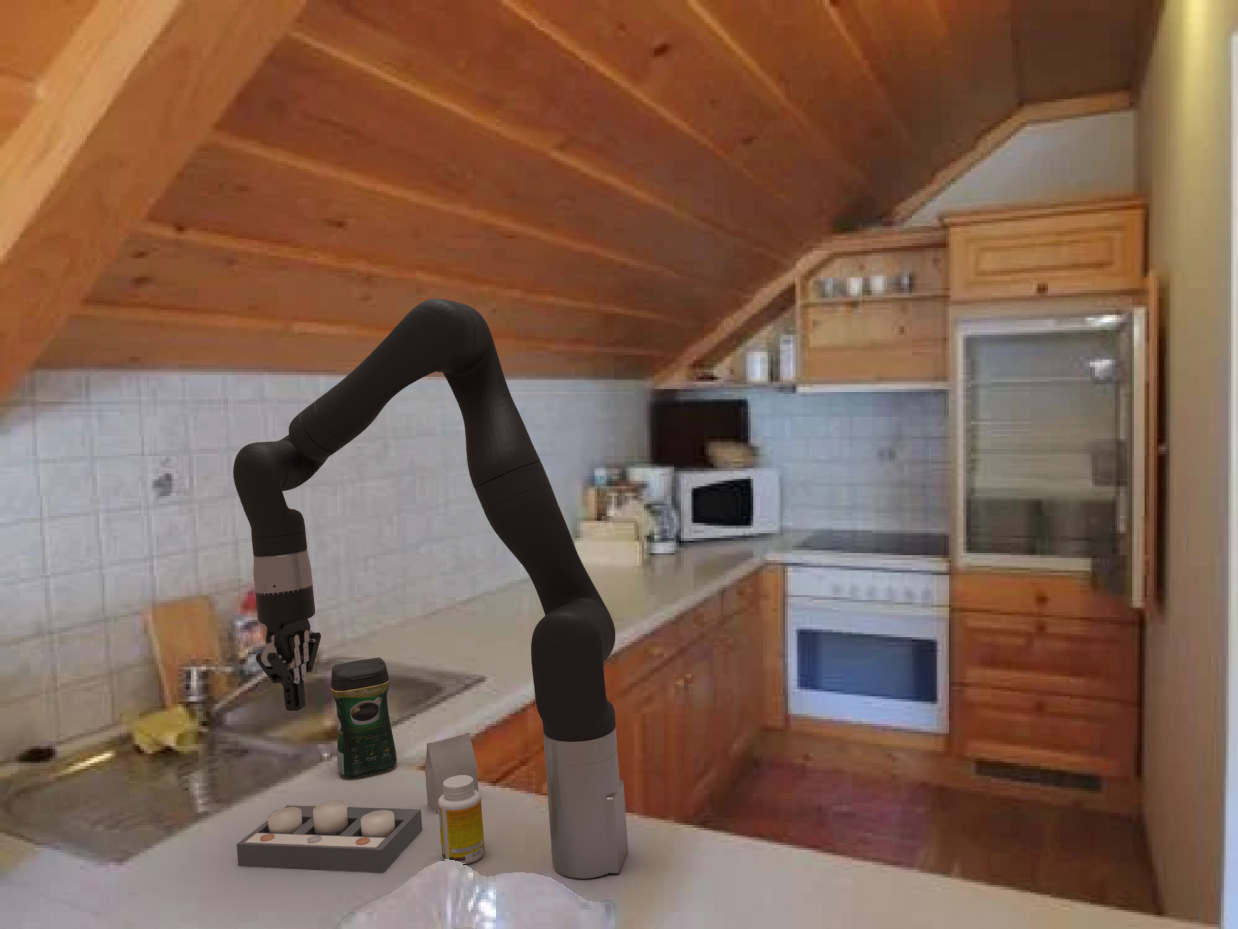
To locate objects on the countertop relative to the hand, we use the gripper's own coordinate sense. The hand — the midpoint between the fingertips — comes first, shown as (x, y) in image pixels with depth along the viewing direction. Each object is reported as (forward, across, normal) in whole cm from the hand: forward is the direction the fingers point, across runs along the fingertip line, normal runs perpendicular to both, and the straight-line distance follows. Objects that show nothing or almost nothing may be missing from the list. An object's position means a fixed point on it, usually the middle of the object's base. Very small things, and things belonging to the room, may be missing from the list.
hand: (296, 708), depth 125 cm
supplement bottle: (+20, -2, -24) cm, 31 cm away
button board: (+19, -1, -4) cm, 20 cm away
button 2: (+18, -1, -11) cm, 21 cm away
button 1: (+17, -1, +3) cm, 18 cm away
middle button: (+16, -1, -4) cm, 17 cm away
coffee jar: (+19, +26, +4) cm, 32 cm away
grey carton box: (+20, +14, -16) cm, 29 cm away
